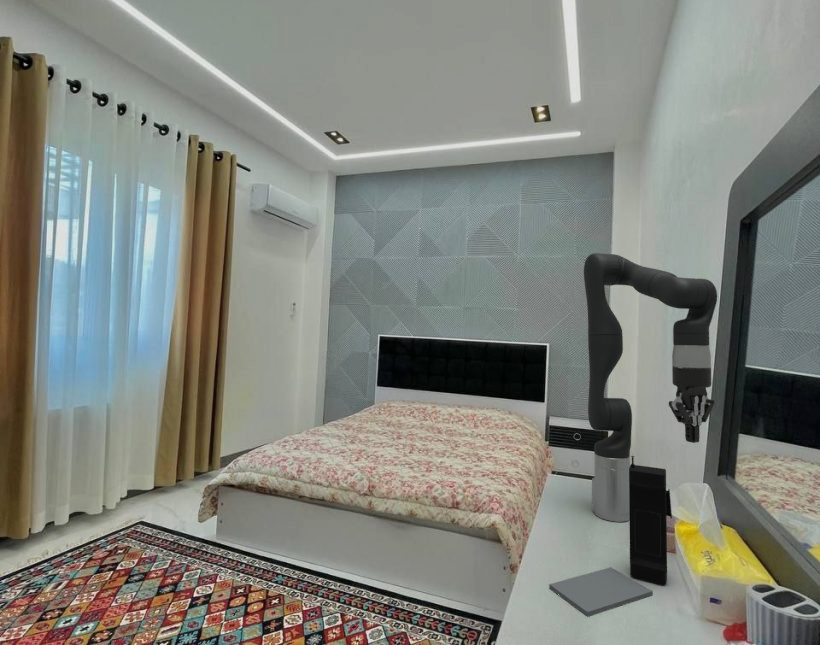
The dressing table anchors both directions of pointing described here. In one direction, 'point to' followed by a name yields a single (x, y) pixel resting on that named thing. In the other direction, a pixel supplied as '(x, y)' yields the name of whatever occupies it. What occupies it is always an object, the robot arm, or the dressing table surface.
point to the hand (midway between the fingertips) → (692, 441)
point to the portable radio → (648, 523)
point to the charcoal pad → (600, 591)
